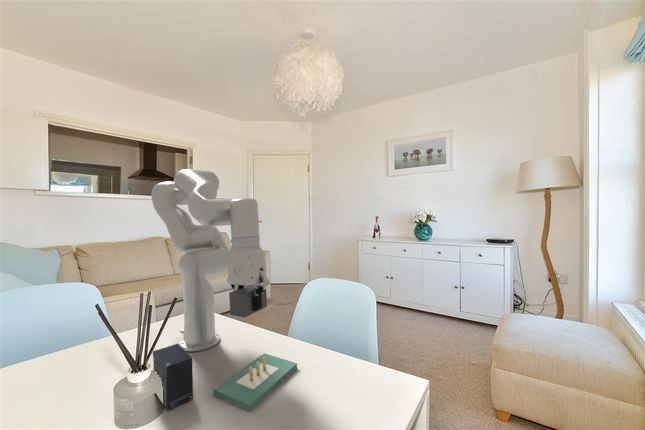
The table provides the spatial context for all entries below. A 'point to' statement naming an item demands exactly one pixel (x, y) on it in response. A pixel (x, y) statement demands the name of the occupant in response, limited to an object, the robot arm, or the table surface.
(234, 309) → the block
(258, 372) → the header pins
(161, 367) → the small box
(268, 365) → the board
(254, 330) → the table surface
